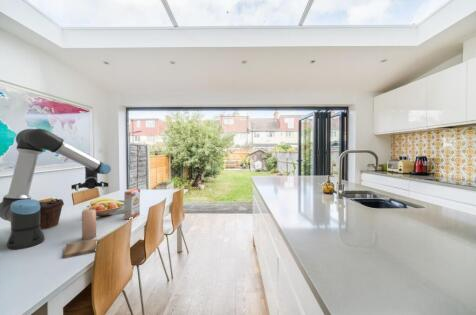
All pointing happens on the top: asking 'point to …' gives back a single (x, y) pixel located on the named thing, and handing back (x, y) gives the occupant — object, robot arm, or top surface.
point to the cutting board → (79, 248)
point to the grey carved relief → (119, 211)
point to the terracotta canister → (88, 224)
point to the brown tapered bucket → (50, 213)
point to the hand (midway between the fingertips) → (90, 187)
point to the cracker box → (131, 203)
